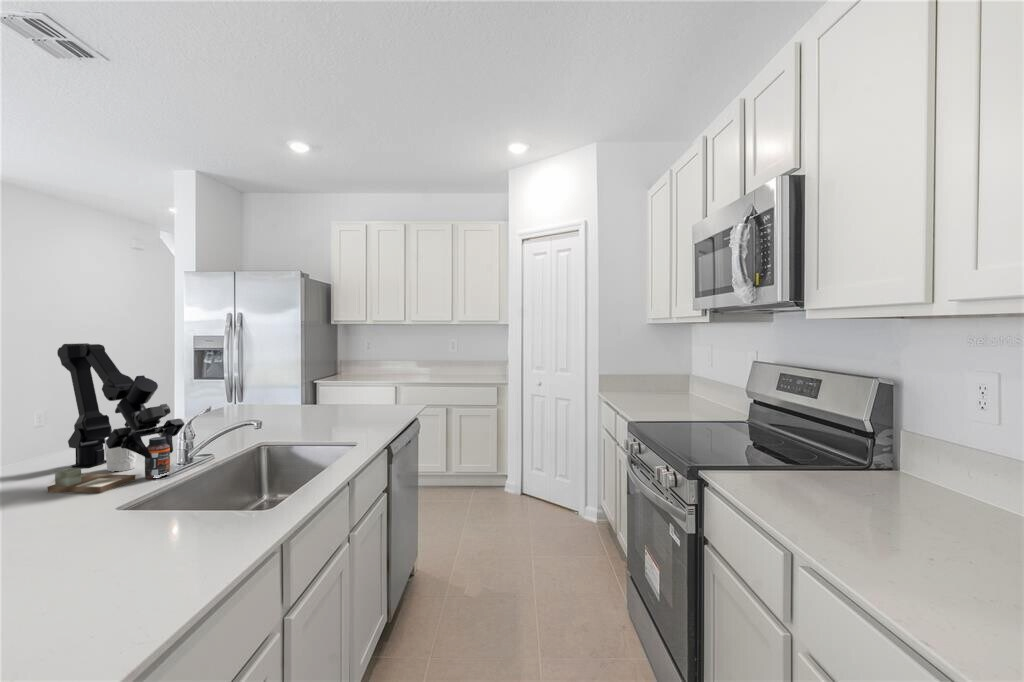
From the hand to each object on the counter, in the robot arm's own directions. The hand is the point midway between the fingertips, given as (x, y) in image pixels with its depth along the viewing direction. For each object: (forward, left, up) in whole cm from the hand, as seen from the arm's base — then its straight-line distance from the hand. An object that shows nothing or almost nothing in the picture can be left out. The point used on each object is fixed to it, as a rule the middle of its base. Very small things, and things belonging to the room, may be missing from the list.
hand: (160, 454), depth 138 cm
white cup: (-18, +7, -7) cm, 21 cm away
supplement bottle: (-1, 0, -7) cm, 7 cm away
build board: (-12, -9, -7) cm, 16 cm away
